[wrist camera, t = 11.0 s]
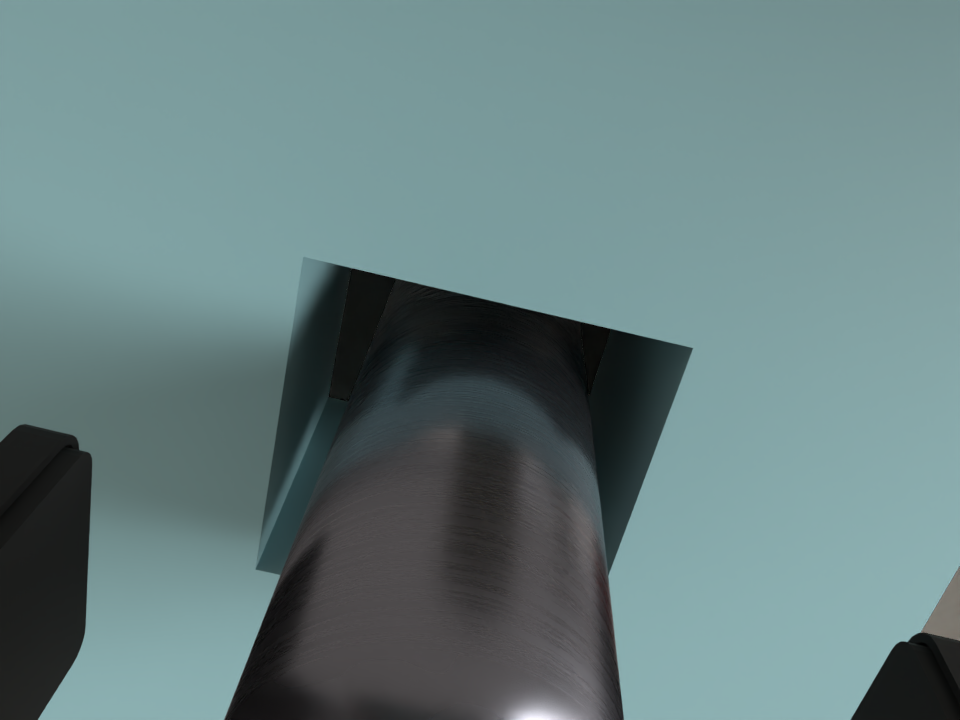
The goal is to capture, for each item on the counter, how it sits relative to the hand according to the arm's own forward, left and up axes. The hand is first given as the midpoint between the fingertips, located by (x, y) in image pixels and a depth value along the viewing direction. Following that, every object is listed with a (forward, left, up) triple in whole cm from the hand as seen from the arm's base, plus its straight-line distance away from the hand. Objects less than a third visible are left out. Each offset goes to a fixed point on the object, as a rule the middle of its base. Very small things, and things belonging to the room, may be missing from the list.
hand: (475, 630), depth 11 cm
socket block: (0, 0, -10) cm, 10 cm away
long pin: (0, 0, -10) cm, 10 cm away
